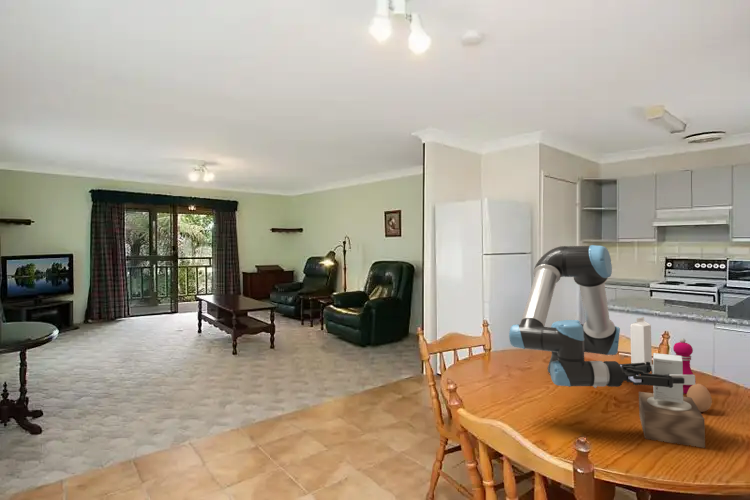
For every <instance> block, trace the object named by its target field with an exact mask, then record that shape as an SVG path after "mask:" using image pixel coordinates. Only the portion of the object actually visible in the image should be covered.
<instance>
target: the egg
mask: <svg viewBox="0 0 750 500" xmlns="http://www.w3.org/2000/svg"><path fill="white" fill-rule="evenodd" d="M686 397H691V398H692V400H693V401H694V403H695V404H696V406H697V408H698V409H699V411H700V413H703V412H706V411H708V410H709V409H710V408H711V406H712V403H713V401H712V395H711V393H710V391H709V390H708V388H707V387H706V386H705V385H703V384H701V383H695V385H692V386H691V387H690V388H689V390H688V392H687V394H686Z"/></svg>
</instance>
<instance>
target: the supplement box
mask: <svg viewBox="0 0 750 500" xmlns="http://www.w3.org/2000/svg"><path fill="white" fill-rule="evenodd" d="M652 365H653V374H659V375H667V376H669V374H678V375H683V361H682V356H677V355H676V354H669V353H668V354H666V353H657V352H653V353H652ZM652 387H653V388H652V389H653V393H654V399H655V400H664V401H671V402H677V403H682V404H683V397H684V393H683V385H673V387H672V388H669V387H662V386H652Z"/></svg>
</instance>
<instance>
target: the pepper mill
mask: <svg viewBox="0 0 750 500" xmlns="http://www.w3.org/2000/svg"><path fill="white" fill-rule="evenodd" d="M686 341H687V340H686V339H685V338H680V339H679V341H678V342H676V343H674V344H673V348H672V349H673V352H674V353H675V355H677V356H682V361H683V375H695V374H694V373H693V370H692V368H691V361H692V356H691V355H692V354H693V353H694V352H693V351H694V348H693V346H692V345H691V344H690V343H689V342H686ZM695 384H697V381H696V379H695ZM691 386H692V385H683V394H686V395H687V392H688V390H689V388H690V387H691Z"/></svg>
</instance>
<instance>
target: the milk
mask: <svg viewBox="0 0 750 500" xmlns="http://www.w3.org/2000/svg"><path fill="white" fill-rule="evenodd" d="M629 328H630V329H629V331H630V363H645V364H646V362H650V366H651V365H653V353H652V324H650V323H649V322H647V320H645V317H644V316H643V317H638V318H636V321H635V322H633V323H630V327H629Z"/></svg>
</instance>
